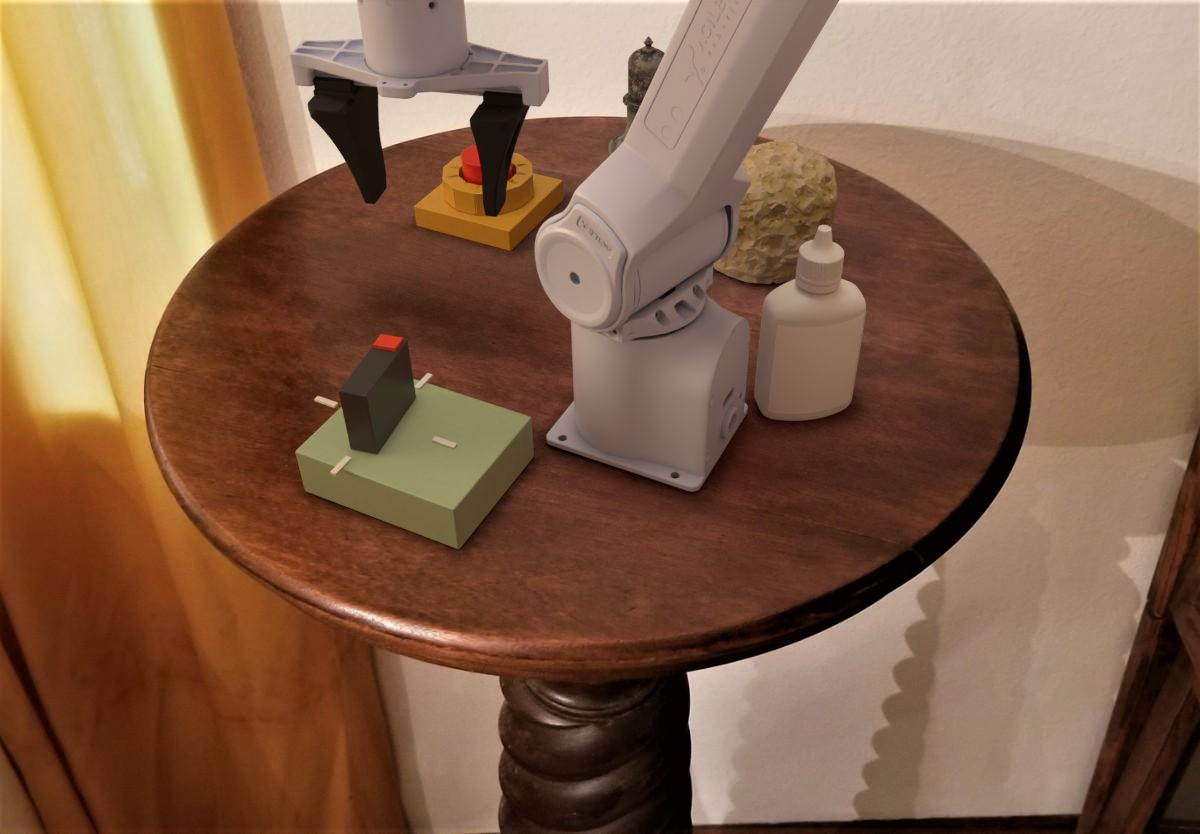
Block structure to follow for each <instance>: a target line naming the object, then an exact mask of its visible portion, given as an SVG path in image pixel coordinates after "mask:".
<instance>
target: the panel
mask: <svg viewBox="0 0 1200 834" xmlns="http://www.w3.org/2000/svg"><path fill="white" fill-rule="evenodd" d="M433 377H434V374H432V373H430V372H427V373H426V374H425V375H424V376H423V377H422V378H421V379H420V380H419V379H416V378H413V380H414V386H415V393H416V398H415V399H414V401H413V402H412V404H411V405H410V406H409V408H408V409H407V411H406V412H405V414H404V415H403V417H402V418H401V420H400V421H399V423H398V424H397V426H396V427H395V429H394V430H393V432H392V433H391V434H390V436H389V437H388V439H387V440H386V442H385V443H384V445H383V446H382V448H381V449H380V451H379V452H378V454H374V453H369V452H365V451H360V450H355V449H351V448H350V444H349V439H348V434H347V430H346V425H345V420H344V415H343V410H342V406H340V407H339V408H338V409H337V410H336V411H335V412H334V413H333V414H332V415H331V416H330V417H329V418H328V419H327V420H326V421H325V422H324V423H323V424H321V426H320V427H318V429H317V430H316V431H314V433H313V434H311V435H310V436H309V437H308V439H306V440H305V441H304V442H303V443H302V444H301V445H300V446H299V447H298V448H297V449H296V450H295V456H296V460H297V465H298V469H299V473H300V476H301V481H302V485H303V488H304V491H305V492H306V493H309V494H311V495H315V496H317V497H320V498H321V499H325V500H328V501H330V502H333V503H335V504H338V505H340V506H343V507H346V508H348V509H351V510H353V511H357V512H359V513H362V514H364V515H367V516H370V517H372V518H375V519H378V520H380V521H383V522H385V523H388V524H390V525H393V526H396V527H398V528H401V529H404V530H406V531H409V532H411V533H414V534H417V535H419V536H422V537H425V538H427V539H429V540H432V541H435V542H438V543H441V544H443V545H446V546H448V547H451V548H453V549H456V550H461V548H462V547H463V546H464V544H465V543H466V542H467V540H468V539H469V538H470V537H471V536H472V534H473V533H474V532H475V531H476V529H477V528H479V526H480V525H481V524H482V523H483V521H484V519H486V517H487V516H488V515H489V513H490V512H491V511H492V510H493V508H494V507H495V506H496V504H498V502H499V501H500V500H501V499H502V497H503V496H504V495H505V493H506V492H507V491H508V490H509V488H510V487H511V486H512V485H513V483H514V482H515V481H516V479H518V477H519V476H520V475H521V473H522V472H523V471H524V470H525V469H526V467H528V465H529V463H531V462H532V459H534V458H535V450H534V438H533V437H534V436H533V424H532V423H533V421H532V417H531V415H530V416H529V415H526V414H523V413H520V412H517V411H514V410H511V409H508V408H505V407H502V406H499V405H496V404H493V403H490V402H487V401H483V400H481V399H477V398H474V397H471V396H468V395H465V394H462V393H459V392H456V391H453V390H449V389H448V388H443V387H440V386H437V385H434V384H431V383H428V382H429V381H431V379H432V378H433ZM313 401H314V402H315V403H318V404H322V405H324V406H327V407H329V408H333V409H336V408H337V407H338V406H339V402H337V401H335V400H331V399H329V398H326V397H323V396H321V395H317V396H316V397H315V398H314V399H313Z"/></svg>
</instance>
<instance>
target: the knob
mask: <svg viewBox="0 0 1200 834" xmlns="http://www.w3.org/2000/svg"><path fill="white" fill-rule="evenodd" d="M408 341H409V340H408V339H405V338H403V337H401V336H396V335H389V334H384V333H380V334H379V335H378V337H377V338H376V339H375V341H374V342H373V343H372V346H371V348H369V350H368V351H367V353H366V354H365V356H363V358H362V359H361V360H360V362H358V365H357V366H356V367H355V368H354V369H353V371H352V372H351V374H350V375H349V376H348V377H347V379H346V380H345V381H344V383H343V384H342V385H341V387H340V388H339V389H338V395H339V400H340V401H339V402H340V407H342V410H343V415H344V420H345V425H346V430H347V434H348V439H349V444H350V448H351V449H355V450H360V451H365V452H369V453H374V454H378V452H379V451H380V449H381V448H382V446H383V445H384V443H385V442H386V440H387V439H388V437H389V436H390V434H391V433H392V432H393V430H394V429H395V427H396V426H397V424H398V423H399V421H400V420H401V418H402V417H403V415H404V414H405V412H406V411H407V409H408V408H409V406H410V405H411V404H412V402H413V401H414V399H415V398H416V393H415V386H414V380H413V379H414V374H413V373H414V372H413V368H412V361H411V354H410V349H409V343H408Z"/></svg>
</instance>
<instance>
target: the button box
mask: <svg viewBox="0 0 1200 834" xmlns="http://www.w3.org/2000/svg"><path fill="white" fill-rule="evenodd" d="M533 165H534V164H533V162H531V161H530V160H528V159H527V158H526V157H525V156H524V155H523V154H520V153H517V152H513V156H512V169H513V176H512V178H511V179H510V180H508V181H507V189H506V202H505V203H504V205H503V207H502V209H501V211H500V212H499V214H498V216H496V217H491V216H486V215H485V211H484V206H483V195H482V185H475V184H471V183H467V182H466V181H465V180H464V178H463V170H462V160H461V154H459V155H457V156H455V157H453V158H452V159H451V160H450V161H449V162H448V163H446V164H445V165H444V166H443V167H442V175H441V176H442V177H441V180H442V182H441V183H440V184H439V185H437V186H436V187H435V188H434V189H433V190H432V191H430V192H429V193H428V194H427V195H425V197H422V199H421V200H419V202H417V203H416V204H415V205H414V206H413V208H414V216H415V223H416V226H417V227H419V228H424V229H426V230H427V229H428V230H431V231H435V232H438V233H441V234H446V235H450V236H453V237H457V238H461V239H463V240H464V239H465V240H468V241H472V242H476V243H479V244H483V245H487V246H490V247H494V248H498V249H501V250H505V251H508V252H511V251H512V250H513V249H514V248H516V247H517V246H518V245H519V244H520V243H521V242H522V241H523V240H525V238H526V237H527V236H528V235H529V234H530V233H531V232H532V231H533V230H534V229H535V228H537V226H538V225H539V224H540V223H541V222H543V220H544V219H546V217H547V216H549V215H550V214H551V213H552V212H553V211H554V210H555V209H556V208H557V207H558V206H559V205H560V204H561V203H562V202H563V201H564V181H563V179H560V178H555V177H551V176H547V175H542V174H540V173H534V166H533Z"/></svg>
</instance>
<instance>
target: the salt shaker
mask: <svg viewBox="0 0 1200 834" xmlns="http://www.w3.org/2000/svg"><path fill="white" fill-rule="evenodd" d="M643 44H644V46H643V47H640V48H638V49H636V50H634V51H633V52H632V53H631V54H630V55H629V57H628V61H627V92H626V93H625V94H624V95H623V96H622V103H623V105H624V106H626V127H625V131H624V132H622V133H620V134H617V135H616V136H615V137H613V138H612V139H610V141H609V143H608V144H607V152H608V154H609V156H610V155H611V154H612V153H613V152H614V151H615V150H616V149H617V148H618V147H619V146H620V145H621V144H622V143H623V141H624V139H625V137H626V135H627V133H628V131H629V129H630V127H631V125H632V122H633V120H634V118H635V116H636V114H637V112H638V110H639V107H640V105H641V103H642V101H643V99H644V97H645V95H646V92H647V90H648V88H649V86H650V84H651V82H652V80H653V77H654V75H655V73H656V71H657V69H658V67H659V65H660V63H661V60H662V58H663V56H664V54H665V51H663V50H661V49H659V48H657V47H654V46H653V44H654V41H653V40H652V37H650V36H647V37H646V38H645V40H643Z"/></svg>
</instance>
